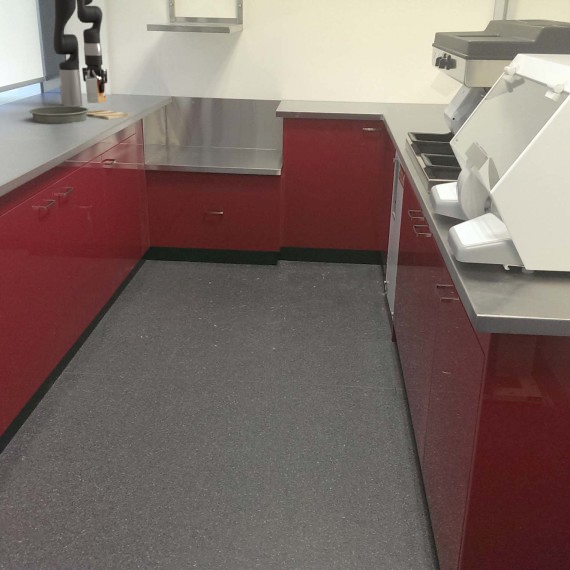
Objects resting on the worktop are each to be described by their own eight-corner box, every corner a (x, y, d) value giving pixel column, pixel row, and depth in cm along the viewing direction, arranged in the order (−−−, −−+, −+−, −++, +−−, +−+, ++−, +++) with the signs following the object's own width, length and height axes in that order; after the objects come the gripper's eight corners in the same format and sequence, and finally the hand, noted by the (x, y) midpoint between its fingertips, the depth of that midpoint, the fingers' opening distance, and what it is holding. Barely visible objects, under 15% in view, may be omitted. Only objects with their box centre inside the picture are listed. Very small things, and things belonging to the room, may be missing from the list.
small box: (98, 103, 305) (96, 79, 301) (87, 103, 306) (85, 78, 302) (106, 101, 313) (104, 77, 309) (95, 101, 314) (93, 77, 310)
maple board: (78, 114, 309) (78, 112, 308) (100, 111, 319) (100, 109, 318) (108, 119, 298) (108, 117, 298) (130, 116, 308) (130, 113, 308)
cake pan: (29, 117, 301) (28, 106, 300) (86, 115, 310) (85, 105, 308) (31, 125, 280) (30, 114, 279) (92, 123, 288) (91, 112, 287)
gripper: (75, 53, 302) (79, 91, 309) (97, 55, 295) (100, 94, 301) (88, 52, 308) (92, 90, 314) (110, 54, 301) (113, 93, 307)
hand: (96, 92), depth 308 cm, fingers closed on small box, 7 cm apart
